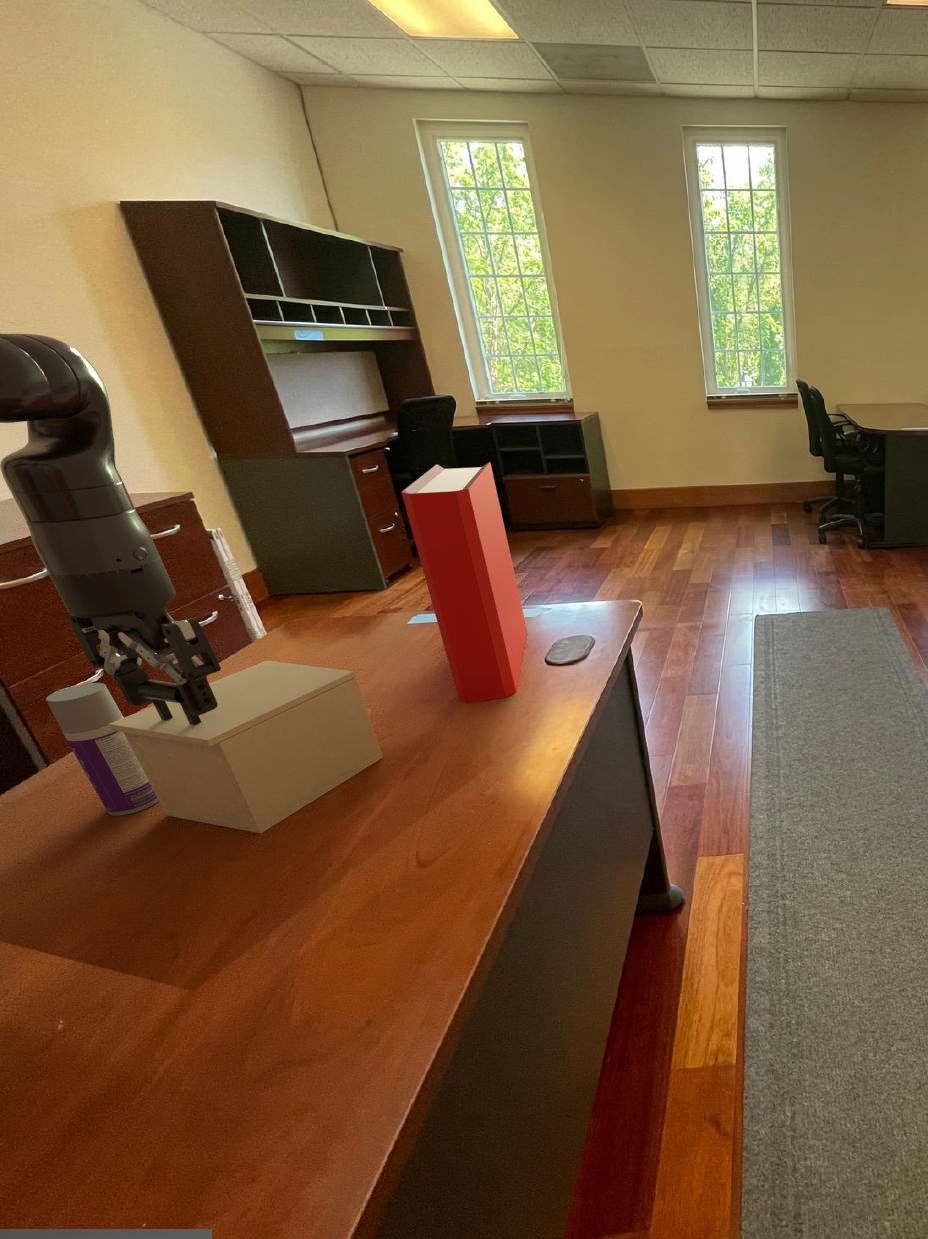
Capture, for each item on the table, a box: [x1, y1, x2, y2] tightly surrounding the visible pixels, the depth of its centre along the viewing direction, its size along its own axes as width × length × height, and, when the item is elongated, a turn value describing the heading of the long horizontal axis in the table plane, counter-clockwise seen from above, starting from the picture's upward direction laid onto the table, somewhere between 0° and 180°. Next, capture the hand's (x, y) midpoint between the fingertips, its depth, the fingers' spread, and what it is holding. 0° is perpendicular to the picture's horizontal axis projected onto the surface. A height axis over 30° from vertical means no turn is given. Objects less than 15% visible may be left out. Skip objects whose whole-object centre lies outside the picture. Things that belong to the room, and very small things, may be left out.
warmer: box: [123, 677, 384, 834], centre depth 80 cm, size 16×14×12 cm
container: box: [45, 682, 160, 817], centre depth 76 cm, size 5×5×15 cm
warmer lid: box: [108, 660, 356, 746], centre depth 76 cm, size 17×14×5 cm
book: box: [401, 461, 528, 704], centre depth 108 cm, size 27×8×32 cm, turn 21°
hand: (174, 706), depth 71 cm, fingers open, 8 cm apart
